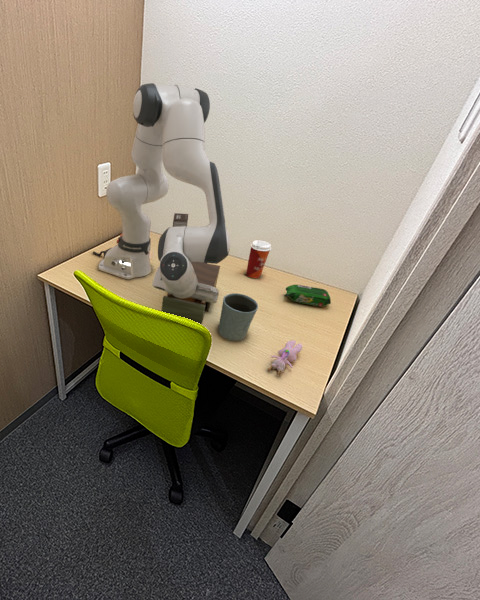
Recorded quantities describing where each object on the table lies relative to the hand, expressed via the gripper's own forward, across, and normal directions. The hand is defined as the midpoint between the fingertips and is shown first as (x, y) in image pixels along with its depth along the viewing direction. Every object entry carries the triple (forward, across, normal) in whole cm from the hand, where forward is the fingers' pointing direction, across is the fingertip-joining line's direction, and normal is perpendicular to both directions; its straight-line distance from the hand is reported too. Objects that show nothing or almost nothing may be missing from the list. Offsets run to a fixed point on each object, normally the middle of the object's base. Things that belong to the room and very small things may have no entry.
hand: (187, 294), depth 111 cm
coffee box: (+41, +19, -28) cm, 53 cm away
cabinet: (+15, +1, -3) cm, 16 cm away
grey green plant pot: (+5, -16, +8) cm, 19 cm away
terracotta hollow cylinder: (+3, 0, +4) cm, 5 cm away
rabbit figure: (+1, -33, +12) cm, 35 cm away
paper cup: (+35, -16, -22) cm, 45 cm away
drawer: (+5, 0, +6) cm, 8 cm away
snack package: (+27, -36, -14) cm, 48 cm away
